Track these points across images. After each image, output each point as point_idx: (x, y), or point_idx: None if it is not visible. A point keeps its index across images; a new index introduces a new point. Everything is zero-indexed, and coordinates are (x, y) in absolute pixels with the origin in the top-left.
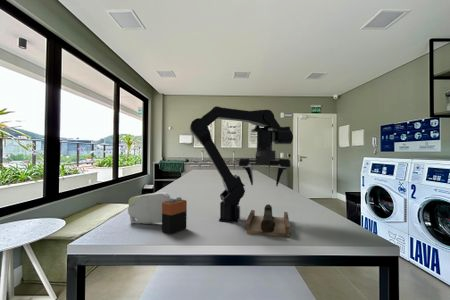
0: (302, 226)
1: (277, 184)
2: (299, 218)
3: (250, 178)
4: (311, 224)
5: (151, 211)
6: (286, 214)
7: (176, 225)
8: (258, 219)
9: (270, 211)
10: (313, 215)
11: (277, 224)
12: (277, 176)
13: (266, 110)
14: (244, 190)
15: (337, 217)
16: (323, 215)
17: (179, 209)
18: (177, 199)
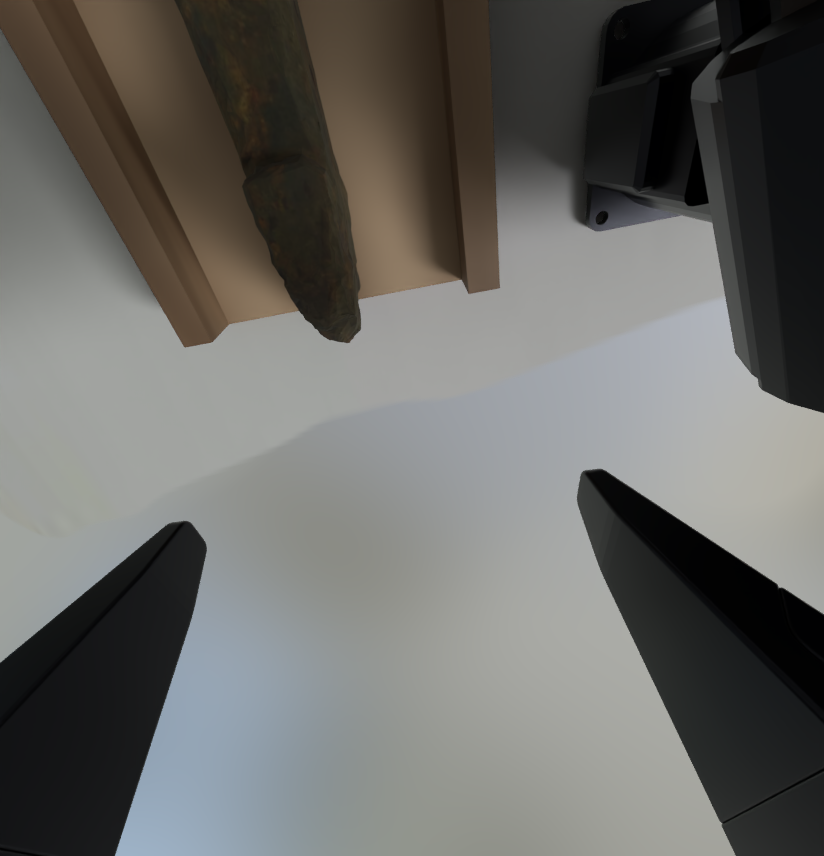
0: (35, 205)
1: (152, 540)
2: (168, 402)
3: (700, 552)
4: (20, 294)
5: None
6: (146, 258)
7: None
8: (397, 151)
9: (224, 86)
10: (134, 489)
11: (165, 33)
12: (19, 694)
13: None
14: (754, 47)
15: (6, 501)
16: (89, 508)
17: None
18: None
